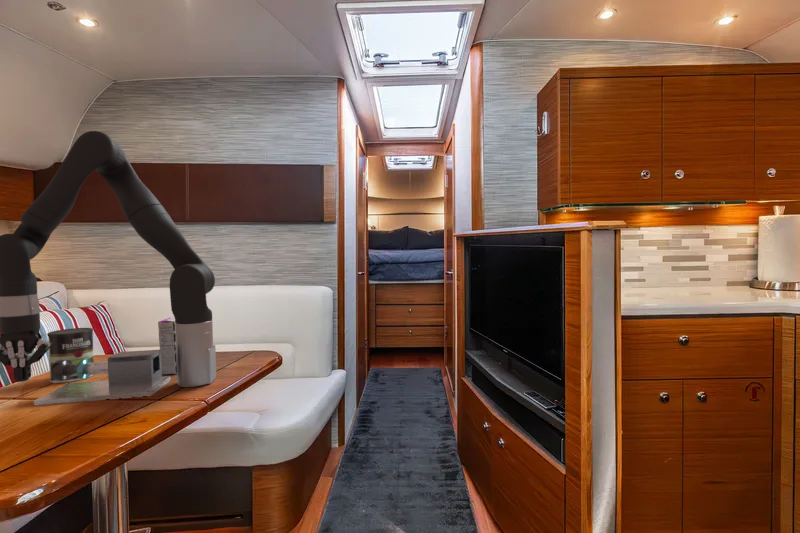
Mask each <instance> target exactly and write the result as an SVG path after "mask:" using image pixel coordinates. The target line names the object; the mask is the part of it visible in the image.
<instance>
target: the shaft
mask: <svg viewBox="0 0 800 533" xmlns="http://www.w3.org/2000/svg"><path fill="white" fill-rule="evenodd" d="M107 374H108V360H107V361H106V360H105V361H104V360H103V361H94V362H91V360H89V359H82V360H81V361H80V362H79V363H72V362H71V361H70V360H58V361H56V362H55V363H54V365H53V366H52V370H51V376H52V379H53V380H54V381H66V380H68V379H69V378H70V377H71V376H78V378H79V379H83V380H87V379H88V377H89V376H90V375H93V376H95V375H107ZM89 378H90V377H89Z"/></svg>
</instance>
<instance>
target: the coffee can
mask: <svg viewBox="0 0 800 533" xmlns="http://www.w3.org/2000/svg"><path fill="white" fill-rule="evenodd" d="M93 332H94V329H93V328H92V327H75V328H74V327H73V328H64V329H59V330H58V329H57V330H53V331H50V332H48V333H47V334H46V335H47V337H48V338H47V339H48V341H47V342H52V346H51V347H50V348H49V349H48V360H49V362H48V363H49V366H48V368H49V382H50V383H51V384H65V383H66V384H68V383H75V382H78V381H79V382H80V381H82V380H84V379H79V378H78V376H71V377H70V378H69V379H68V380H66V381H54V380H53V379H52V376H51V370H52V366H53V365H54V363H55V362H56V361H58V360H70V361H71V362H72V363H79V362H80V361H81V360H82V359H89V360H91V362H95V361H94V360H95V359H94V333H93ZM93 376H94V375H90V376H89V377H88V378H91V377H93ZM88 378H87V379H88Z"/></svg>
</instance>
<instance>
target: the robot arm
mask: <svg viewBox="0 0 800 533" xmlns="http://www.w3.org/2000/svg"><path fill="white" fill-rule="evenodd" d="M57 169H58V170H56V173H55V174H54V176H53V178H51V180H50V182H49V183H48V184H47V186H46V187H44V190H42V192H41V193H40V194H39V195H38V196H37V198H36V199H35V200H34V201H33V202H31V204H30V205H29V206H28V207H27V209H26V210H25V211H24V212H23V213H22V215H21V216H20V223H19V225H18V226H17V228H16V229H15V230H14V231H13V233H4V234H1V235H0V363H1V364H2V365H3V366H5V367H7V366H10V367H12V370H13V379H14V381H16V382H17V383H21V382H22V383H23V382H26V381H28V380H29V379H30V378H31V377H32V367H31V366H32V365H33V364H34V363H37V362H39V361H40V360H41V359H42V358H43V357H44V356H45V354H46V353H47V352H49V348H50V347H51V346H52V342H48V341H46V340H44V339H43V335H42V334H41V333H40V330H41V315H40V314H41V313H40V301H39V297H38V296H39V295H38V281H37V280H38V279H37V276H36V274H35V273H34V272H32V268H31V266H32V265H31V260H32V259H34V258H35V257H36V256H38V254H40V252H41V251H42V250H43V249H44V247H45V245H46V243H47V242H48V240H49V238H50V237H51V235H52V233H53V232H54V231H55V230H56V229H57V228H58V227H59V226H60V224H61V223H62V222H63V221H64V220H65V218H67V216H68V215H69V214H70V212H71V210H72V209H73V207H74V205H75V203H76V202H77V198H78V195H79V192H80V190H81V189H82V186H83V184H84V182H86V180H87V178H88V177H89V176H90V175H91V174H92V173H93V172H94V171H96V172H97V174H99V175H100V177H101V178H102V179H104V181H105V182H106V183H107V184H108V186H109V187H110V188H111V189H112V191H113V192H114V194H115V196H116V198H117V201H118V203H119V206H120V208H121V211H122V213H123V215H124V216H125V218H126V220H127V221H128V223H129V224H130V225H131V226H132V228H133V229H134V231H135V232H136V233H137V235H138V236H139V237H140V238H141V239H142V240H144V241H145V242H146V243H147V244H148V245H149V246H150V247H152V248H153V249H154V250H155V251H157V252H158V253H159V254H161V255H162V256H163V257H164V258H166V260H167V261H168V262H169V264H170V265H171V266H172V267H173V268H174V270H173V271H172V273H171V275H170V279H169V296H170V298H169V299H170V308H171V312H172V314H173V316H174V317H175V333H176V361H177V374H176V382H177V386H178V387H182V388H194V387H199V386H204V385H209V384H212V383H213V382H214V381H215V379H217V357H216V355H217V354H216V353H217V352H216V351H217V350H216V345H215V344H214V332H213V331H214V330H213V328H214V327H213V311H212V309H210V308H209V307H208V303H207V302H208V301H207V294H209V293H210V292H212V290H213V289H214V288H215V287H214V286H215V284H216V278H215V274H214V272H213V270H212V269H211V268H210V267H209V266H208V265H207V263H206V262H205V261H204V260H203V259H202V258H201V257H200V255H198V253H197V252H196V251H195V250H194V249H193V248H192V246H191V245H190V244H189V242H188V241H187V239H186V237H185V236H184V235H183V233H182V232H181V231H180V229H179V227H178V226H177V225H176V224H175V222H174V221H173V219H172V217H171V216H170V214H169V213H168V212H167V210H166V209H165V207H164V206H163V205H162V204H161V202H160V201H159V200H158V199H157V197H156V196H155V195H154V194H153V193H152V191H151V190H150V189H149V188H148V187H147V186H146V184H144V182H142V180H141V179H140V177H139V176H138V174H137V173H136V171H135V169H134V168H133V166H132V165H131V162H130V160H129V158H128V157H127V155H126V153H125V151H124V150H123V149H122V147H121V146H120V145H119V144H118V143H117V142H116V141H115V140H114V139H113V138H112V137H110V135H108V134H107V133H104V132H102V131H98V130H89V131H87V132H86V131H85V132H84V133H82V134H80V135H79V137H78V138H77V139H76V140H75V142H74V143H73V145H72V146H71V148H70V150H69V151H68V153H67V154H66V157H65V158H64V160H63V162H62V163H61V164H60V166H59V168H57ZM35 349H36V350H35Z"/></svg>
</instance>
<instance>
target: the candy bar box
mask: <svg viewBox="0 0 800 533" xmlns="http://www.w3.org/2000/svg"><path fill="white" fill-rule="evenodd" d="M157 324H158V342H159V350H161V369H162V376H171V375H177V361H176V333H175V317H174V315H173V316H171V317H168V318H165V319H162V320H160V321H158V322H157Z"/></svg>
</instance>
